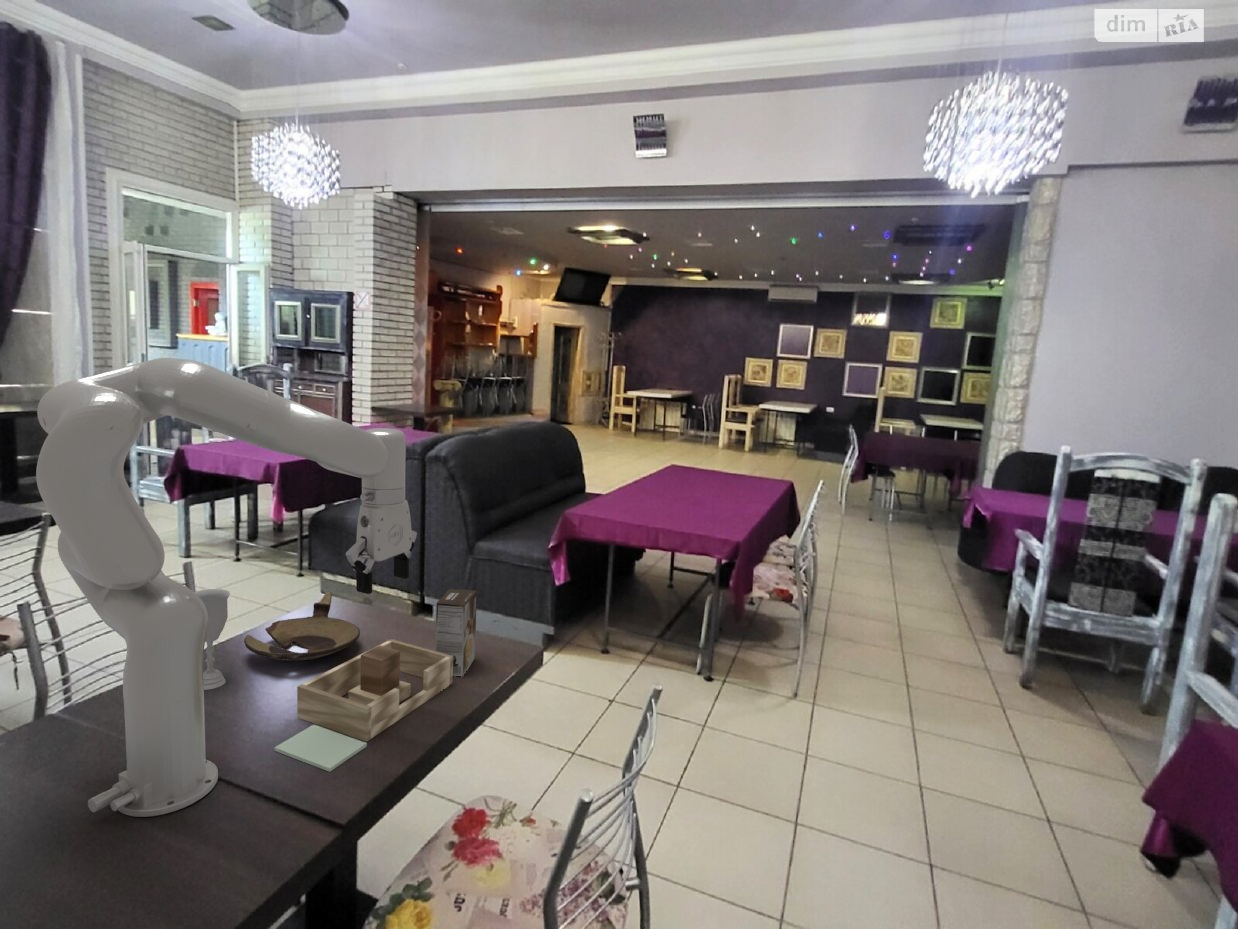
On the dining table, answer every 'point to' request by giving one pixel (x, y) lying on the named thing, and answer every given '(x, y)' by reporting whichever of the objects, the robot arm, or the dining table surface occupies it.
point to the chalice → (213, 631)
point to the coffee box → (457, 628)
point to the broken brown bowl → (307, 635)
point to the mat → (321, 747)
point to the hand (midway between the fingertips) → (383, 584)
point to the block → (380, 670)
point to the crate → (364, 709)
